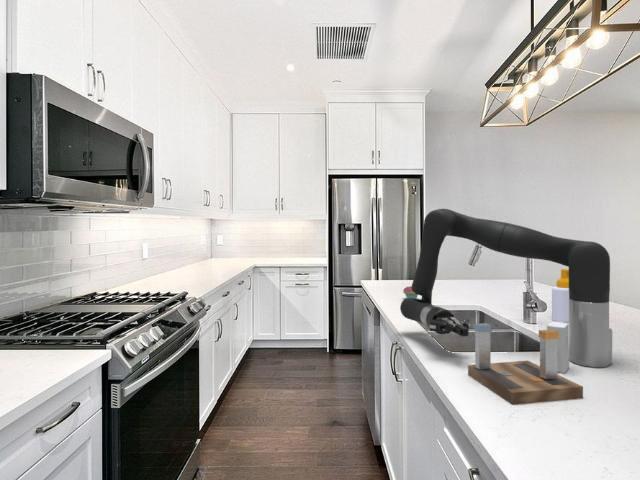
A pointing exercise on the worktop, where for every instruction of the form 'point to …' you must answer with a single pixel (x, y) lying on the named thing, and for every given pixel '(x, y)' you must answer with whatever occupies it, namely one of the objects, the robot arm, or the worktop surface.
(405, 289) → the cupcake
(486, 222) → the robot arm
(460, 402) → the worktop surface
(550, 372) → the lever orange
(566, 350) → the skincare box
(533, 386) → the switch base
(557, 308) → the soap bottle
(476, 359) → the lever blue
